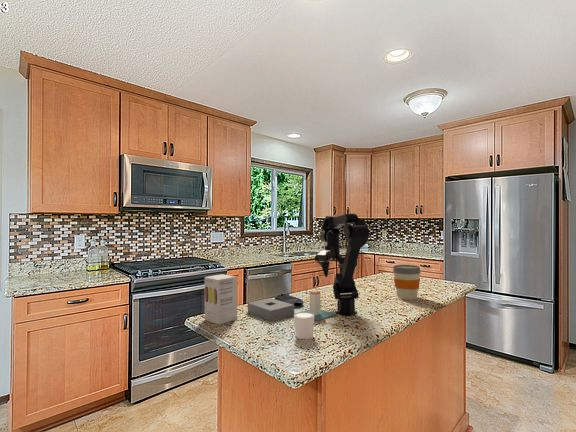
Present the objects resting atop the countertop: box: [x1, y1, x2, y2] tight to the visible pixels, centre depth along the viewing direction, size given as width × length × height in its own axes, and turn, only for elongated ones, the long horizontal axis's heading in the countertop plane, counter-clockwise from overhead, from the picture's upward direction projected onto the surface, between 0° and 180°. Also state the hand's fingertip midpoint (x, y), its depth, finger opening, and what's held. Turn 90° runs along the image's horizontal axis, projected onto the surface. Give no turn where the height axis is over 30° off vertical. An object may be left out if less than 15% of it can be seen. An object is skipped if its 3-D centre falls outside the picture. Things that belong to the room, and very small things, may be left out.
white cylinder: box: [293, 311, 315, 340], centre depth 105 cm, size 7×7×7 cm
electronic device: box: [274, 293, 305, 309], centre depth 146 cm, size 9×6×15 cm
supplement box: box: [204, 273, 238, 325], centre depth 124 cm, size 10×9×17 cm
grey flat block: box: [247, 297, 295, 322], centre depth 131 cm, size 16×12×4 cm
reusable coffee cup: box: [392, 264, 421, 301], centre depth 155 cm, size 13×13×15 cm
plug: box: [309, 290, 322, 315], centre depth 128 cm, size 3×3×9 cm
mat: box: [294, 309, 337, 323], centre depth 128 cm, size 12×12×1 cm
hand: (333, 278), depth 143 cm, fingers open, 9 cm apart
